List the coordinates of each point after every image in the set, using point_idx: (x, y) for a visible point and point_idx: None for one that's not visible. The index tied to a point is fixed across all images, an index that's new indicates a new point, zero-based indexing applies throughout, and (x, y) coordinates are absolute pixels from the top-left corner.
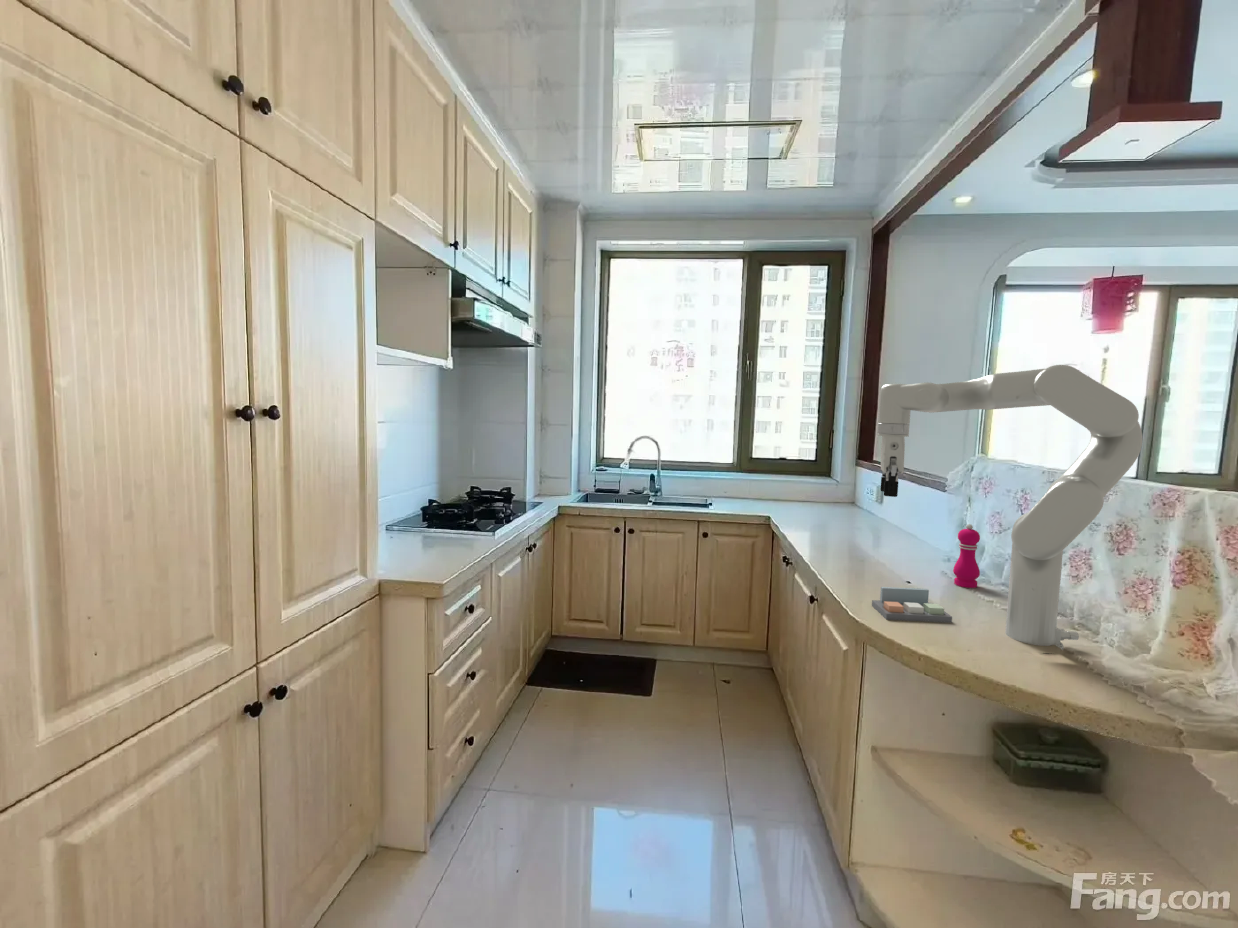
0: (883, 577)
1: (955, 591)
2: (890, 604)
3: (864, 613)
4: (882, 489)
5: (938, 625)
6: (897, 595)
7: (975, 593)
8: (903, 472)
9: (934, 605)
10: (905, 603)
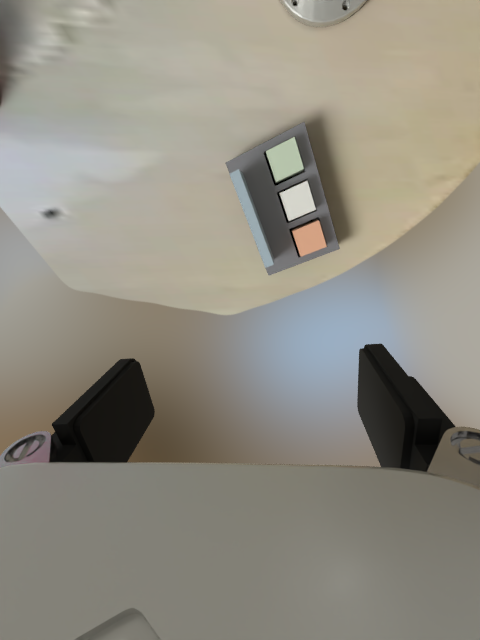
0: (54, 259)
1: (46, 115)
2: (315, 244)
3: (289, 280)
4: (148, 415)
5: None
6: (263, 233)
7: (28, 67)
8: (443, 478)
9: (282, 158)
10: (296, 217)
